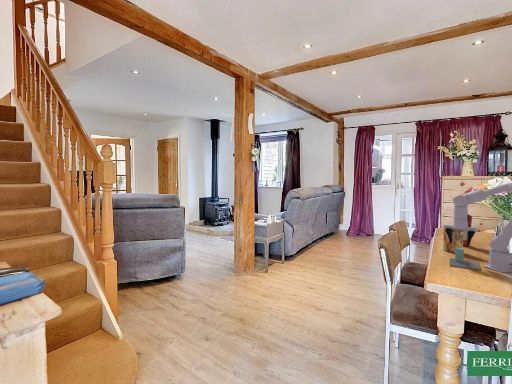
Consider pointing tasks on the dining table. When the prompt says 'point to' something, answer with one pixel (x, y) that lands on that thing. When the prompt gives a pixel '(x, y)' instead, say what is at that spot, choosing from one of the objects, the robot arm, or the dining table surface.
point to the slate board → (465, 264)
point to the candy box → (453, 241)
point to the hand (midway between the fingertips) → (459, 244)
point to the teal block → (459, 254)
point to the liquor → (465, 234)
